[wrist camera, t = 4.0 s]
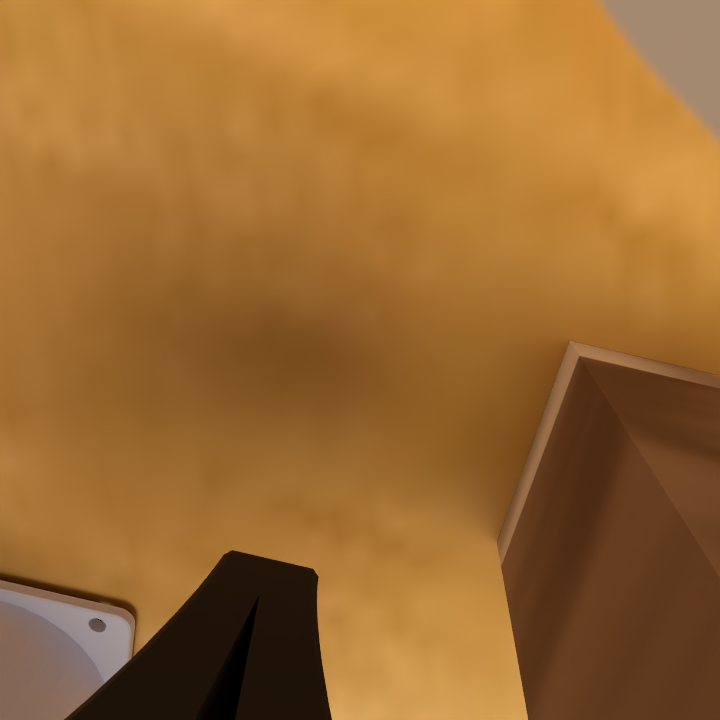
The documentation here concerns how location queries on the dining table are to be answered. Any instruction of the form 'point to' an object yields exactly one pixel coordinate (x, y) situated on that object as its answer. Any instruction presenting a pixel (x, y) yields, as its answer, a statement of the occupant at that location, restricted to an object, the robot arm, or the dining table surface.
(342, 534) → the dining table surface
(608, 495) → the walnut block
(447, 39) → the dining table surface
